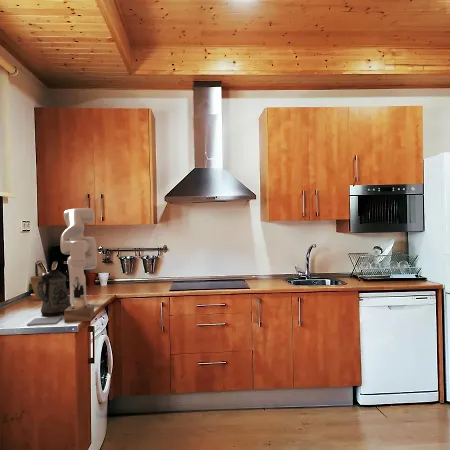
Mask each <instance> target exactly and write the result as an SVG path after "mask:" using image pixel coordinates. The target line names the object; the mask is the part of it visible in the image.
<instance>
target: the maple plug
mask: <svg viewBox="0 0 450 450" xmlns="http://www.w3.org/2000/svg"><path fill="white" fill-rule="evenodd" d="M74 309H85V299H84V296H81V297H80V298H74Z"/></svg>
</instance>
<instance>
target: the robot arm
mask: <svg viewBox="0 0 450 450" xmlns="http://www.w3.org/2000/svg"><path fill="white" fill-rule="evenodd" d="M63 219H64V221H65V224H66V225H65V226H66V227H67V228H66V229H65V230H64V231H63V232H62V234H61V235H60V242H59V243H60V252H61V253H62V254H64V255H69V256H68V257H67V262H66V263H67V267H68V275H69V300H70V303H71V305H72V306H74V298H80V297H81V296H84V299H85V305H90V303H89V302H88V301H87V284H86V283H87V281H86V280H87V279H86V274H85V271H84V270H94V269H96V268H97V266H98V253H97V252H98V251H97V241H96V238H95V237H94V236H84V231H85V223H87V224H88V223H90V224H91V223H93V222H95V221H94V220H95V211H94V209H92V208H90V207H82V208H81V207H80V208H79V207H77V208H70V209H66V210H65V211H64V212H63ZM86 253H87V254H86Z"/></svg>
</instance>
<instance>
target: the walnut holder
mask: <svg viewBox="0 0 450 450" xmlns="http://www.w3.org/2000/svg"><path fill="white" fill-rule="evenodd" d="M94 317H95V305H94V304H89V305H85V309H74V306H69V307H68V308H67V309H66V310H64V317H63V320H64V323H77V321H81V322H91V321H92V320H93V318H94Z"/></svg>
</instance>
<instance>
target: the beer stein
mask: <svg viewBox="0 0 450 450" xmlns="http://www.w3.org/2000/svg"><path fill="white" fill-rule="evenodd" d="M66 281H67V276H66V275H65V274H63V273H62V272H61V271H60V270H59V269H49V270H48V272H47V273H45V274H43V276H42V280H40V281H39V282H38V285H37V293H38V295H39V297H40V298H41V299H42V300H41V301H42V306H41V308H40V313H41V317H44V318H49V317H62V316H64V310H66V309H67V308H68V307H69V306H72V305H71V303H70V296H69V293H68V290H67V288H68V287H67V285H66ZM44 284H45V286H44ZM43 286H44V292H43Z"/></svg>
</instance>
